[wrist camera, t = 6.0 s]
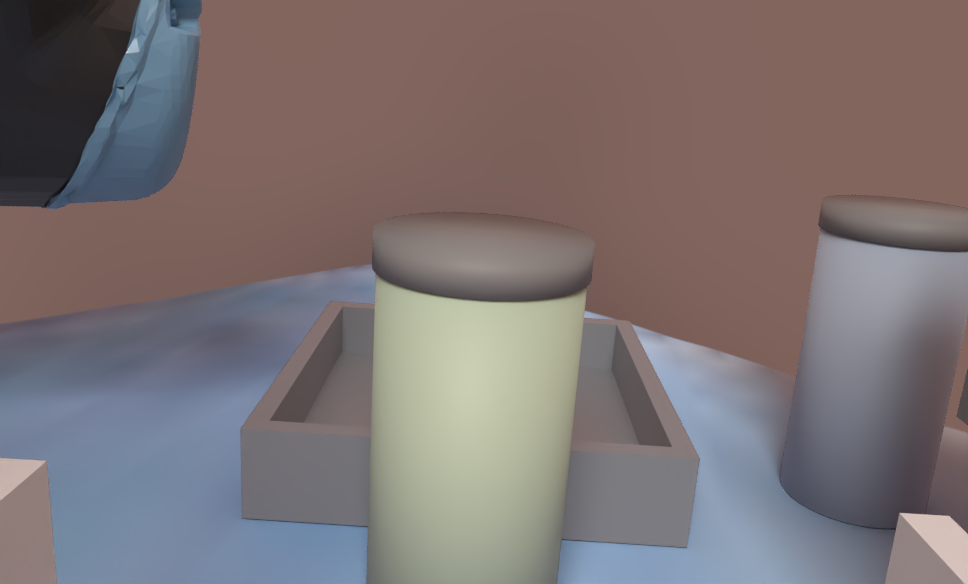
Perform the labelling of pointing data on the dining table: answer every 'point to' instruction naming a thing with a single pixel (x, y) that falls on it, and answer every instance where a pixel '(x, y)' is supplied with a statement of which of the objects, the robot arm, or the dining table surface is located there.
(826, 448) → the gray canister
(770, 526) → the dining table surface
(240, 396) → the dining table surface
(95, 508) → the dining table surface
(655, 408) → the tray
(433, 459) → the sage canister
